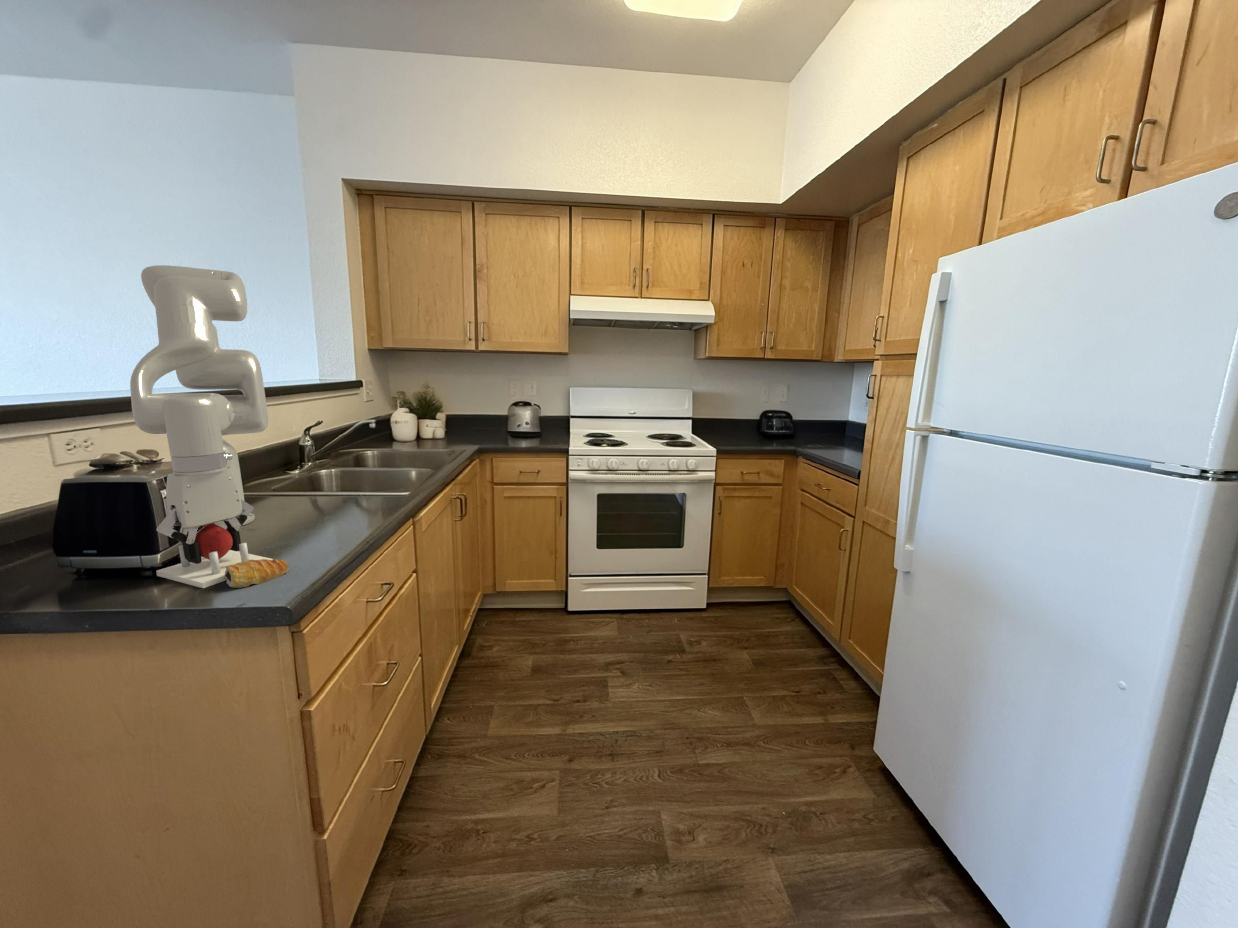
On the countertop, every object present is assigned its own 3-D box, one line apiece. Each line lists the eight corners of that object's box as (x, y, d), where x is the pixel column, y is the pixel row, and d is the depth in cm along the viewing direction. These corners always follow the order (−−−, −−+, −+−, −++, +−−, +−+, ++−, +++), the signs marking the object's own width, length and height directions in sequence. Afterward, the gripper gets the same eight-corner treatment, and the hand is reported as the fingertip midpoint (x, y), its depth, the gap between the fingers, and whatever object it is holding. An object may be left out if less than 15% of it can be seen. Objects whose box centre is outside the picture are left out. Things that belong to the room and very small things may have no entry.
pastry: (282, 566, 95) (279, 548, 94) (294, 575, 91) (292, 556, 90) (222, 582, 88) (219, 562, 87) (233, 593, 84) (229, 572, 83)
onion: (230, 553, 97) (224, 514, 95) (238, 560, 93) (232, 520, 92) (192, 561, 92) (185, 521, 91) (199, 569, 89) (192, 527, 87)
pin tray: (157, 575, 90) (152, 550, 89) (228, 553, 101) (224, 530, 100) (203, 588, 85) (198, 561, 84) (273, 563, 96) (269, 539, 95)
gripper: (237, 454, 98) (250, 539, 102) (127, 470, 83) (146, 569, 86) (262, 457, 96) (274, 544, 99) (153, 474, 80) (171, 576, 83)
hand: (214, 555), depth 93 cm, fingers closed on onion, 5 cm apart
